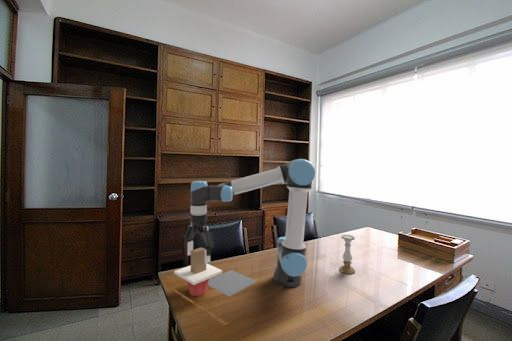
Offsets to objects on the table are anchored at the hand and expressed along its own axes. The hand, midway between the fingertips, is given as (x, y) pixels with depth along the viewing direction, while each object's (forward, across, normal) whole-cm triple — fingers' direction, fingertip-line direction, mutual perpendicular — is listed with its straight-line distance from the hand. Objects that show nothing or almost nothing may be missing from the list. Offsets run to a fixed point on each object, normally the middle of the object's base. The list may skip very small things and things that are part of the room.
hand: (198, 258), depth 117 cm
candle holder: (+17, -43, -74) cm, 87 cm away
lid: (+7, 0, 0) cm, 7 cm away
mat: (+17, -4, -17) cm, 24 cm away
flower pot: (+17, 0, 0) cm, 17 cm away
